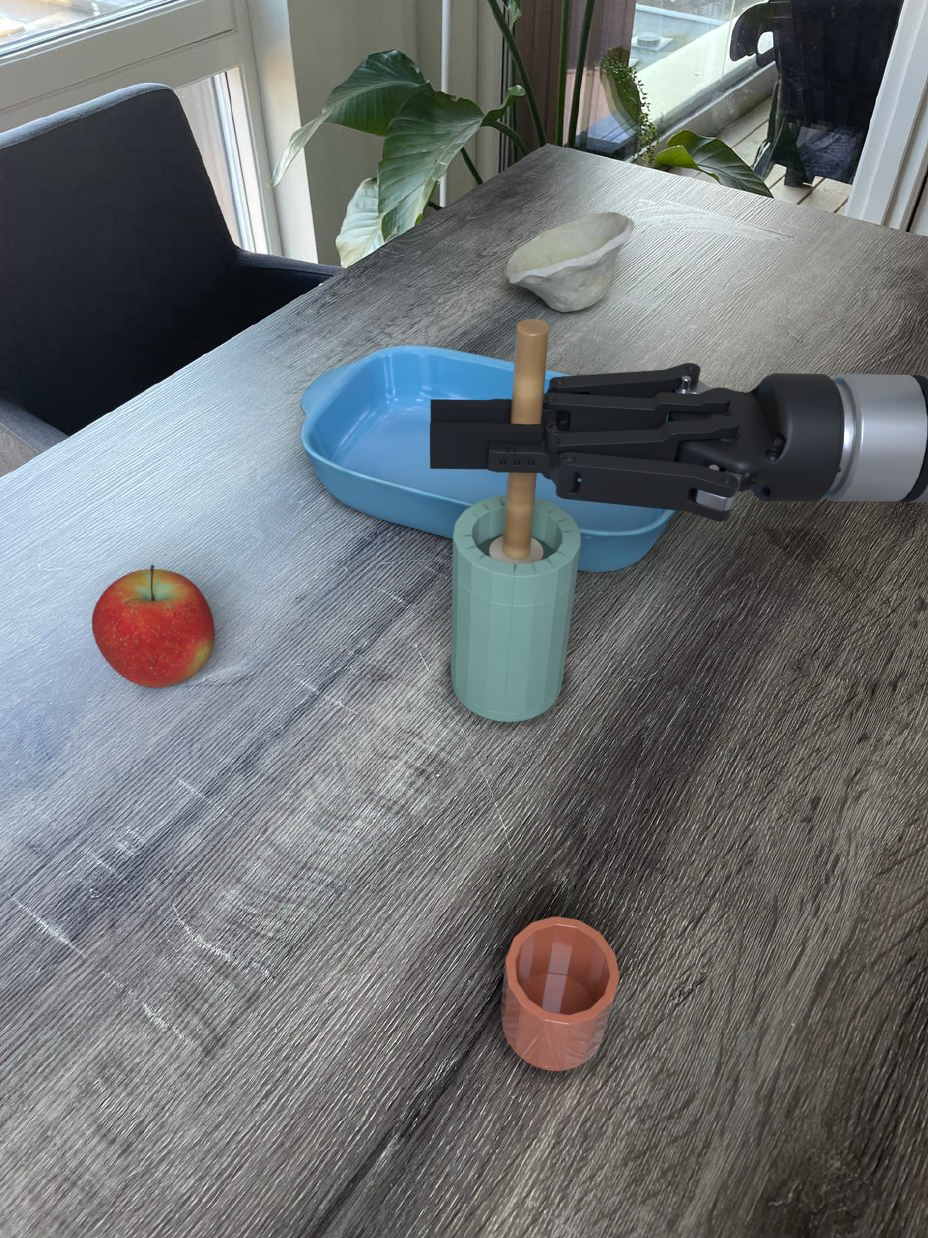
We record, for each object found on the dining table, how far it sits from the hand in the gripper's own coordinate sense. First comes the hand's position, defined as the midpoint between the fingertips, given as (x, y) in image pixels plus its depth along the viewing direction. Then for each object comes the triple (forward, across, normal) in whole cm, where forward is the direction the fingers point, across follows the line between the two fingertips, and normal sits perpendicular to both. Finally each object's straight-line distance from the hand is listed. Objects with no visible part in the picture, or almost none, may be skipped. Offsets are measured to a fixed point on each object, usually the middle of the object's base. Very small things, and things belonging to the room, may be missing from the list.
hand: (431, 433), depth 59 cm
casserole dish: (-6, +23, -22) cm, 32 cm away
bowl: (-14, +60, -22) cm, 65 cm away
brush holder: (-7, -26, -22) cm, 34 cm away
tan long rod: (-6, 0, -17) cm, 18 cm away
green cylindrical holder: (-6, 0, -22) cm, 22 cm away
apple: (+20, 0, -22) cm, 29 cm away
